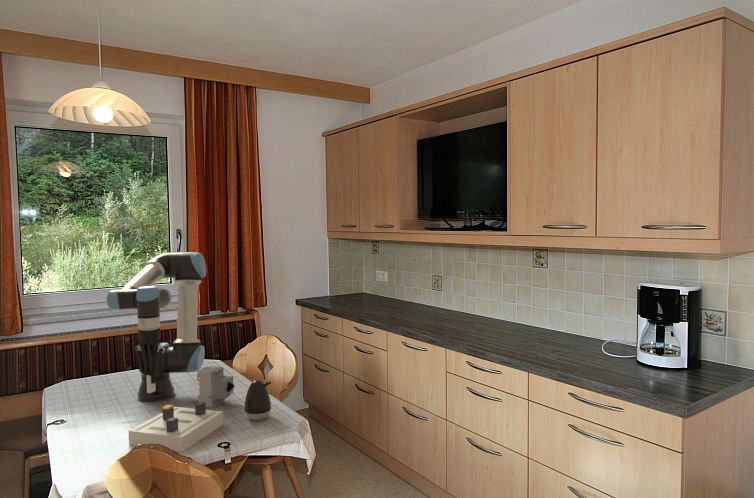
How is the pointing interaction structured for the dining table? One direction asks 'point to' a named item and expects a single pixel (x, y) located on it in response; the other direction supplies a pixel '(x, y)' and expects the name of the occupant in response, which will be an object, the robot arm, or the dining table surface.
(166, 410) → the block
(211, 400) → the circuit breaker
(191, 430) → the breaker panel
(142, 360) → the robot arm
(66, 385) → the dining table surface
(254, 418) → the pump dispenser
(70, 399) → the dining table surface
